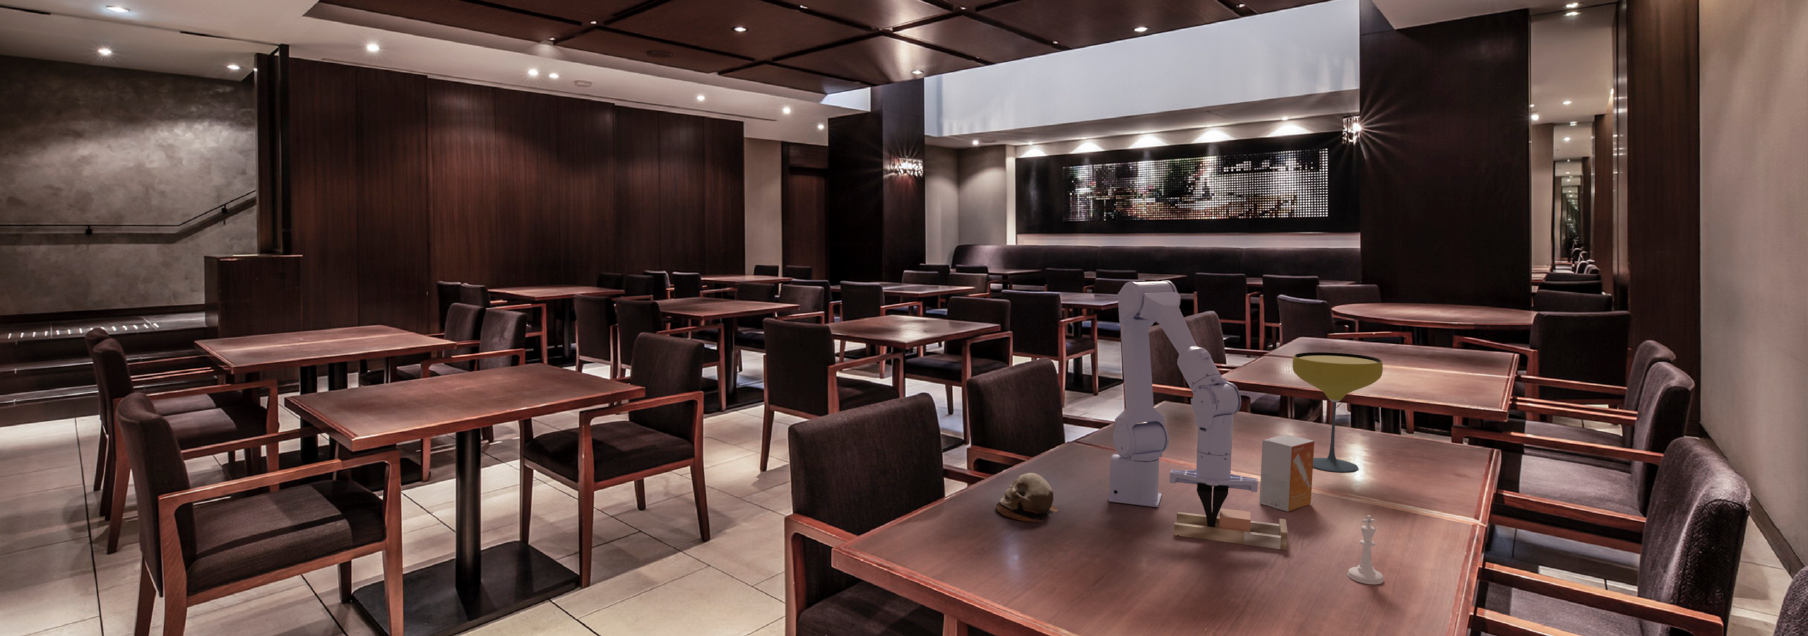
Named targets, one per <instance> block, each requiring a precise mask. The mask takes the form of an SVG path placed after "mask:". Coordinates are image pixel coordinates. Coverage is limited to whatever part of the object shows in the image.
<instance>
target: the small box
mask: <svg viewBox="0 0 1808 636" xmlns="http://www.w3.org/2000/svg"><path fill="white" fill-rule="evenodd" d="M1261 443H1262V446H1261V461H1260V462H1261V464H1260V467H1261V468H1260V486H1259V487H1260V488H1259V504H1261V505H1264V506H1267V505H1268V506H1267V507H1270V506H1271V507H1270V508H1274V509H1278V510H1279V511H1280V510H1281V511H1284V512H1287V513H1288V512H1291V511H1294V510H1297V509H1301V508H1303V507H1306V506H1310V505H1311V503H1312V488H1313V487H1312V485H1313V469H1314V468H1313V458H1315V457H1314V456H1315V451H1314V450H1315V440H1313V439H1308V438H1304V437H1299V436H1296V435H1290V434H1286V433H1285V434H1282V435H1279V436H1278V435H1277V436H1272V437H1271V438H1270V437H1269V438H1266V439H1263V440H1262V442H1261Z"/></svg>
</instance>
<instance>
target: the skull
mask: <svg viewBox="0 0 1808 636" xmlns="http://www.w3.org/2000/svg"><path fill="white" fill-rule="evenodd" d="M1053 503H1054V491H1053V489H1052V487H1051V485H1050V484H1049V482H1048V481H1047V480H1046V479H1045V478H1044V477H1042V476H1041V475H1040V474H1038V473H1035V472H1027V473H1023V474H1021V475H1019V476H1018V479H1017V478H1016V479H1015V480H1014V481H1013V483H1012V484H1010V486H1009V488H1007V489H1006V490H1005V491H1004V496H1003V497H1002V498H1000V500H999V502H997V504H996V511H998V513H1000V514H1001V515H1003V516H1005V517H1006V518H1009V519H1013V520H1016V521H1022V522H1030V523H1032V522H1033V523H1034V522H1035V523H1036V522H1038V523H1040V522H1041V521H1042V520H1044V517H1046V516H1048V515H1049V516H1050V515H1051V514H1052V515H1053V514H1054V513H1057V512H1058V511H1059V509H1058V508H1057V507H1055V506H1054V505H1053Z"/></svg>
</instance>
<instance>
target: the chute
mask: <svg viewBox="0 0 1808 636" xmlns="http://www.w3.org/2000/svg"><path fill="white" fill-rule="evenodd" d="M1219 523H1220V516H1217V519H1216V523H1215V527H1207V518H1206V514H1199V513H1192V512H1191V513H1189V512H1182V511H1177V512H1176V521H1175V522H1174V523H1173V524H1174V525H1173V526H1174V527H1173V536H1177V535H1179V537H1186V538H1192V537H1193V538H1194V539H1201V540H1206V541H1207V540H1208V541H1215V542H1221V543H1222V542H1224V543H1232V544H1238V545H1247V546H1254V547H1262V548H1269V549H1277V550H1285V551H1287V549H1288V535H1289V534H1288V526H1287V520H1286V519H1285V518H1279V521H1278V523H1275V522H1274V523H1272V522H1266V521H1257V520H1251V525H1250V532H1247V531H1239V530H1231V529H1223V528H1219Z"/></svg>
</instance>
